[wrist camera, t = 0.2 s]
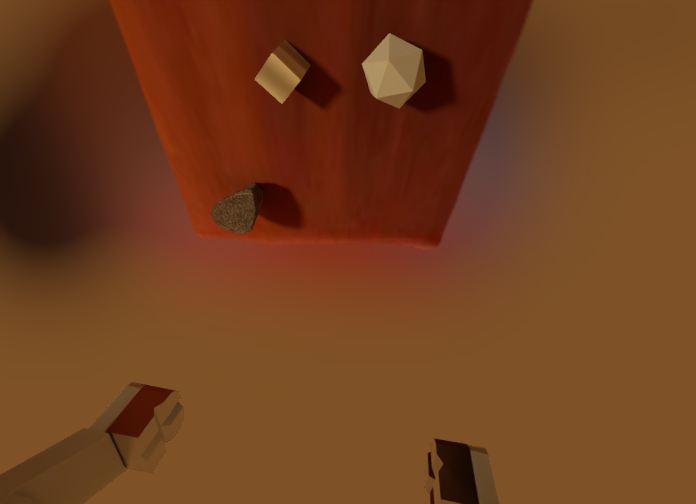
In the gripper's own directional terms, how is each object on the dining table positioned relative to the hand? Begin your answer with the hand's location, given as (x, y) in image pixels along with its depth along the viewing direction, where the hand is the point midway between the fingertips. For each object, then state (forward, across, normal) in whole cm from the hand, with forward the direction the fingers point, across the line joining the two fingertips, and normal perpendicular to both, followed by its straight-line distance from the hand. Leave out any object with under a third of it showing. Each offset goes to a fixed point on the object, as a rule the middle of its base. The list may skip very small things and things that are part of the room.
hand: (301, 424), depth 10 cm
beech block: (+52, +16, -9) cm, 55 cm away
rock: (+61, +28, +16) cm, 69 cm away
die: (+51, 0, -10) cm, 52 cm away
